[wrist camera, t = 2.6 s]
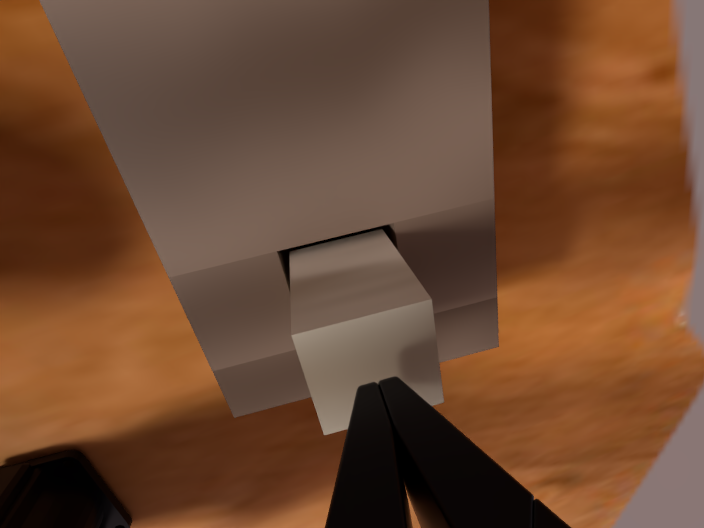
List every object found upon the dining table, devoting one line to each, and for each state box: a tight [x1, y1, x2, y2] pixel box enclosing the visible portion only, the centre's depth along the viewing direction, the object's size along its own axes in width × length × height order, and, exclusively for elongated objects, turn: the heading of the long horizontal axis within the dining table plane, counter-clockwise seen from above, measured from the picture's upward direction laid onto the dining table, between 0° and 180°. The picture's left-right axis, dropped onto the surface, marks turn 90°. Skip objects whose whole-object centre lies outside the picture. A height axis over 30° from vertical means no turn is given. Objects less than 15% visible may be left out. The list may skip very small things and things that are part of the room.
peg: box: [289, 229, 444, 435], centre depth 10 cm, size 3×3×4 cm
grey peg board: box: [40, 0, 499, 418], centre depth 12 cm, size 20×10×5 cm, turn 11°
